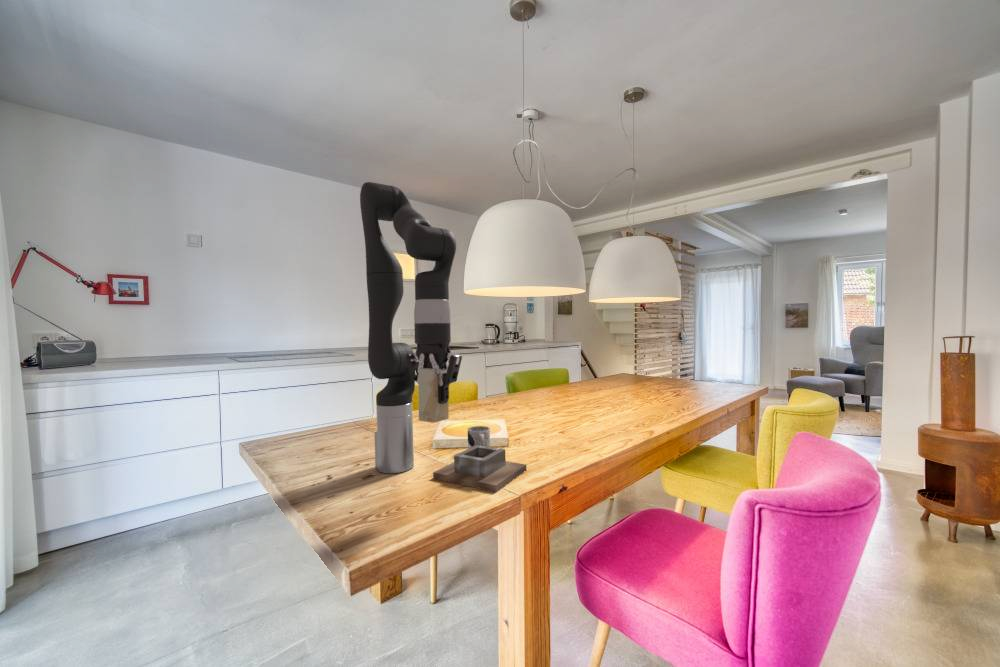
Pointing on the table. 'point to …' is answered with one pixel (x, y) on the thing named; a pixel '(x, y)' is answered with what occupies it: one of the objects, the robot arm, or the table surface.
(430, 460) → the table surface
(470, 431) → the mug
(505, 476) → the socket
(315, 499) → the table surface
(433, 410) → the box
